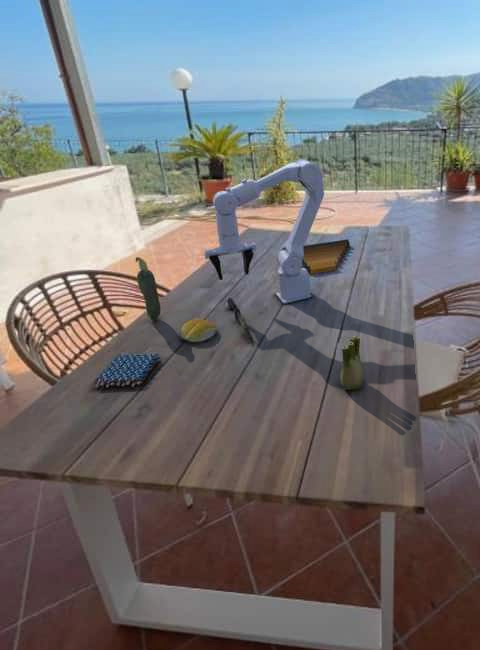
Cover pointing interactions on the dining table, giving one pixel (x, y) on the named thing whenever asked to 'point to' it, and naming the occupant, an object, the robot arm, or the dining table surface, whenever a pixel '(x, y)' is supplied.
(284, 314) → the dining table surface
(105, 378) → the woven mat
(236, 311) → the knife
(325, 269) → the pan flute
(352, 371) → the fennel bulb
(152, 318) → the vegetable
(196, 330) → the bread roll
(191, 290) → the dining table surface
